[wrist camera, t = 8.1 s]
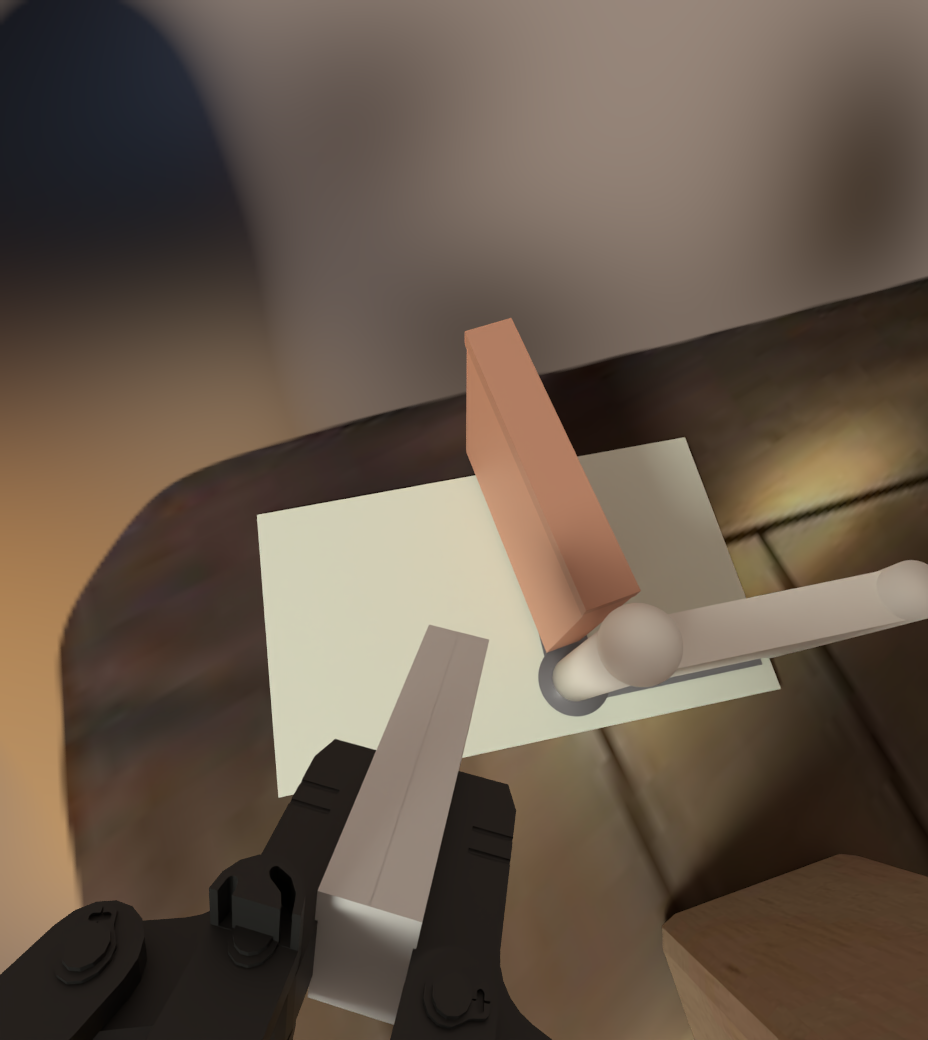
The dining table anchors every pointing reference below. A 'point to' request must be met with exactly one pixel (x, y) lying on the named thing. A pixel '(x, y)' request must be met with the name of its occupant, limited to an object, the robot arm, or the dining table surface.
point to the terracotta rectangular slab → (539, 492)
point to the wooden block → (807, 956)
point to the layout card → (473, 606)
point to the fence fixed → (738, 630)
